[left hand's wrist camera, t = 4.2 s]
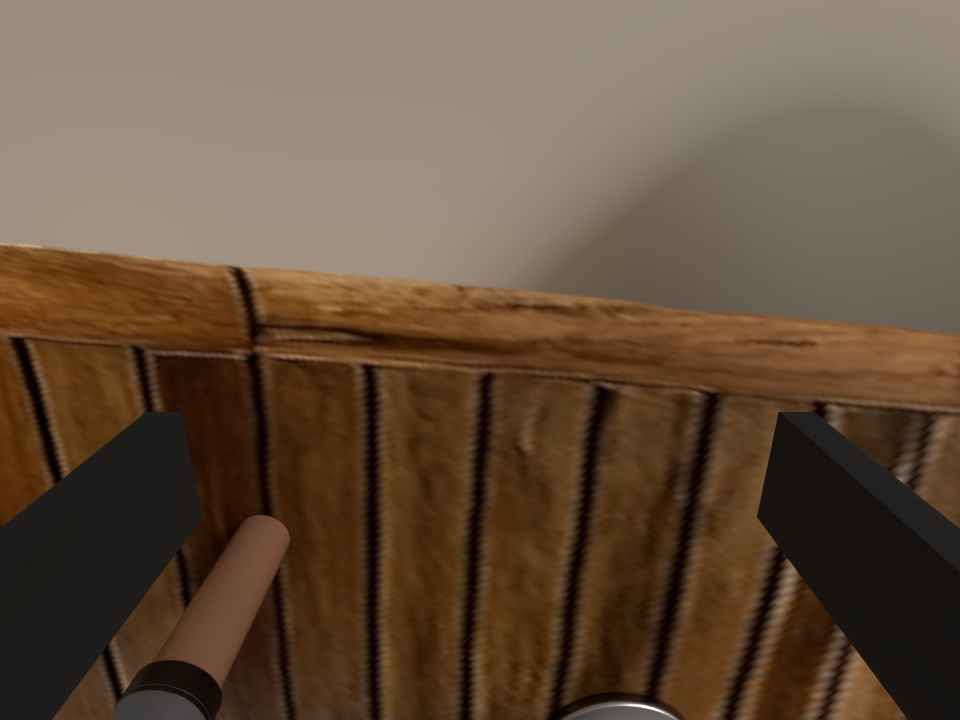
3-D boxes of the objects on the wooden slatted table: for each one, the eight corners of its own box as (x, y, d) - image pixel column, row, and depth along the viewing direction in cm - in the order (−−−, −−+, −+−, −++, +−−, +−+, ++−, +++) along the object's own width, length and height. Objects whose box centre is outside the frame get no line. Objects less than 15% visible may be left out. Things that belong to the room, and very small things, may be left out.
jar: (244, 507, 46) (133, 679, 31) (297, 525, 47) (211, 702, 32) (231, 548, 48) (118, 730, 33) (282, 564, 48) (193, 751, 33)
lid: (142, 648, 33) (122, 679, 31) (232, 675, 33) (217, 706, 32) (125, 708, 34) (105, 741, 33) (210, 732, 35) (195, 765, 33)
